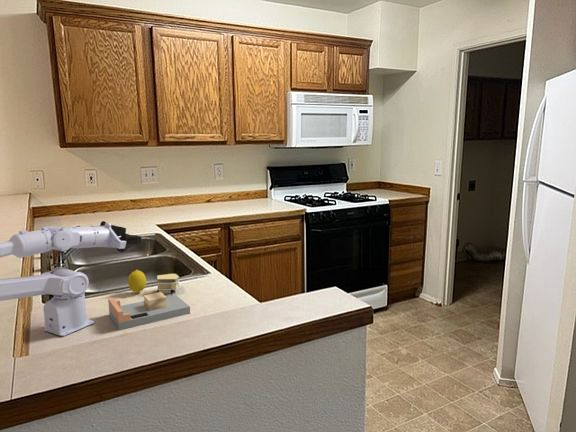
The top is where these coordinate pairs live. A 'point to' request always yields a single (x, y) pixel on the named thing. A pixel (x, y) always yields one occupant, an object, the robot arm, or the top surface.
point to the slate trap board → (151, 312)
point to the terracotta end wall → (118, 311)
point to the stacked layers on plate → (168, 283)
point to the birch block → (155, 301)
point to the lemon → (137, 281)
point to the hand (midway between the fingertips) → (132, 235)
